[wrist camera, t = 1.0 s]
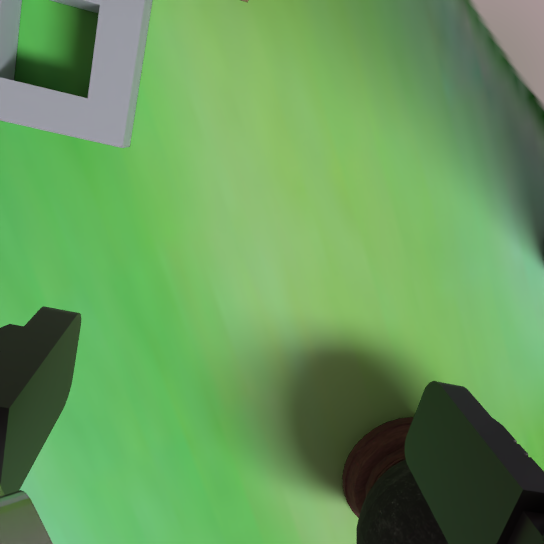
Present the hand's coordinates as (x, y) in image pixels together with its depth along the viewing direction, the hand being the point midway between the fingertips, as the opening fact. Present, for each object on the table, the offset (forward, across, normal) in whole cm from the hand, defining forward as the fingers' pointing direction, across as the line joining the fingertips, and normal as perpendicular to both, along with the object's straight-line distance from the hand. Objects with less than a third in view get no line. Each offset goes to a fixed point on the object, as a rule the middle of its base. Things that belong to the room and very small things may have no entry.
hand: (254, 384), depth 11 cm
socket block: (+25, +13, -7) cm, 29 cm away
